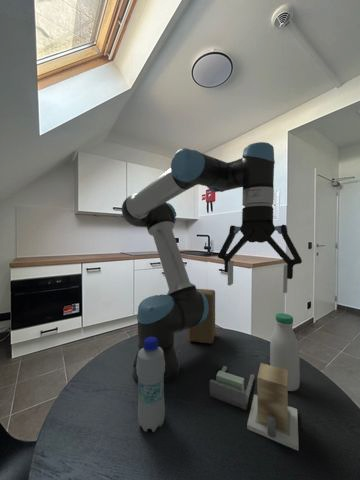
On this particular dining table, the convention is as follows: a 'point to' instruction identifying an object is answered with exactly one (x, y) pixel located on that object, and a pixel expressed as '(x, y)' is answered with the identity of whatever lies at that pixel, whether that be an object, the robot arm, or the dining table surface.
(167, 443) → the dining table surface
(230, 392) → the housing frame
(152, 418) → the bottle
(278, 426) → the block
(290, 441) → the seat plate
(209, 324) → the wooden block
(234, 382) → the cover
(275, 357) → the milk bottle
